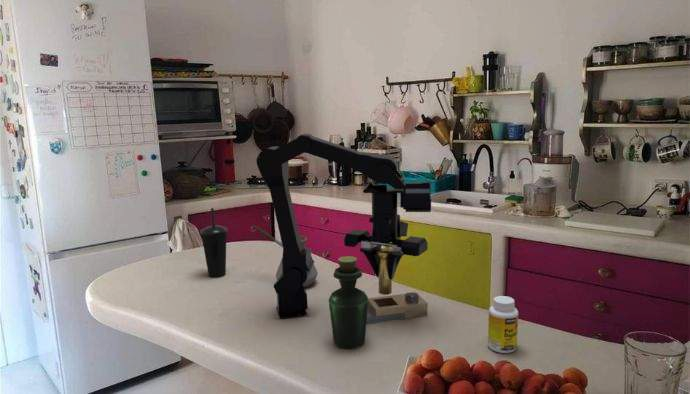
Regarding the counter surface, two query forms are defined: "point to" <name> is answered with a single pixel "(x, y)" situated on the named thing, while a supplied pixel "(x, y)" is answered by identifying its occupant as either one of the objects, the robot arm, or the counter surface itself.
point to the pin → (384, 271)
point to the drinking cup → (215, 248)
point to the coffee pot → (303, 239)
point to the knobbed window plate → (396, 307)
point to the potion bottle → (348, 306)
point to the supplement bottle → (503, 325)
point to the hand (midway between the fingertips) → (385, 277)
